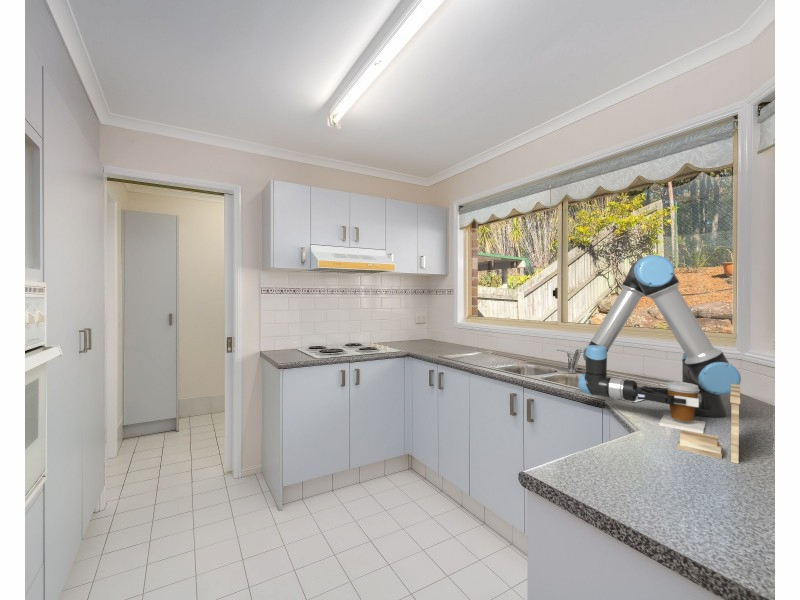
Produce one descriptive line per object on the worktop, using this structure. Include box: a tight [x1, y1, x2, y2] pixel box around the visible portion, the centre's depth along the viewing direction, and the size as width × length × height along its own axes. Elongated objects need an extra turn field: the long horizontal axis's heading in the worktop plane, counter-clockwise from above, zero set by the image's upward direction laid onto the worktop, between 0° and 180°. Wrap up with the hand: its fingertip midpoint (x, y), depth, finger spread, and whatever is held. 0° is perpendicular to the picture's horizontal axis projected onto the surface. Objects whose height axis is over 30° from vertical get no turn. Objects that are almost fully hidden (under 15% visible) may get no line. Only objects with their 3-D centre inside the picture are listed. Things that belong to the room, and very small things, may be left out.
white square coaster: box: [658, 414, 706, 434], centre depth 134 cm, size 12×12×1 cm
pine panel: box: [729, 383, 741, 465], centre depth 112 cm, size 25×2×17 cm, turn 139°
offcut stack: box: [676, 430, 724, 460], centre depth 111 cm, size 6×10×5 cm, turn 48°
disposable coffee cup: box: [665, 381, 700, 421], centre depth 134 cm, size 10×10×12 cm
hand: (699, 400), depth 131 cm, fingers closed on disposable coffee cup, 8 cm apart
